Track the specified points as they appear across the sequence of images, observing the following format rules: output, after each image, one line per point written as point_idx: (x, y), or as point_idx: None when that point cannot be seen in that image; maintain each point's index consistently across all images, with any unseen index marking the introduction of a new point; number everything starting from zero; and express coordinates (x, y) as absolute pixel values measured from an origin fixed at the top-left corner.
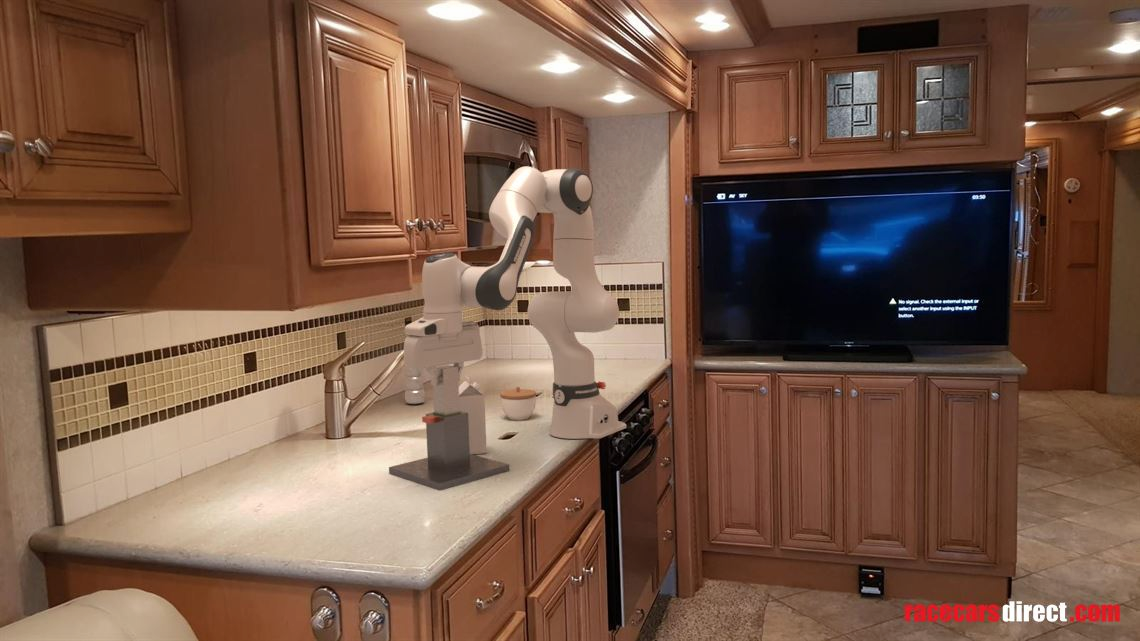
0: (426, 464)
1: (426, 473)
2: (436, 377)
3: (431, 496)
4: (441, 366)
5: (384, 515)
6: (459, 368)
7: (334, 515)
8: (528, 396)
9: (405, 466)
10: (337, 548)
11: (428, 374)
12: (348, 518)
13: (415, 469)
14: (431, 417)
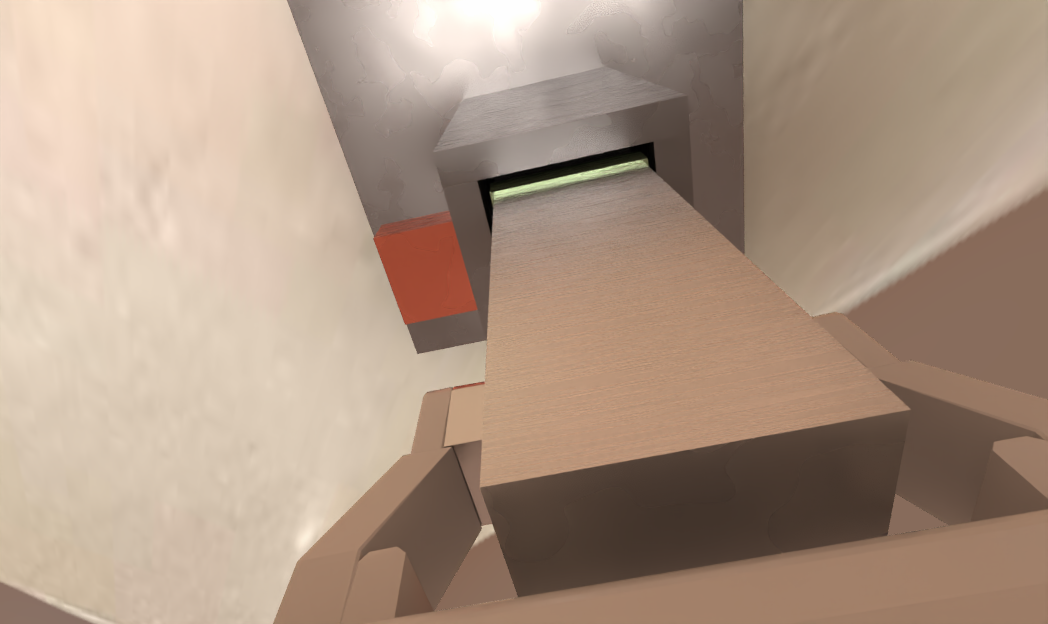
0: (468, 61)
1: (416, 209)
2: (466, 537)
3: (375, 378)
4: (694, 500)
5: (205, 448)
6: (958, 517)
7: (49, 379)
8: None
9: (363, 26)
10: (79, 566)
11: (362, 506)
12: (97, 421)
13: (392, 117)
14: (428, 296)
